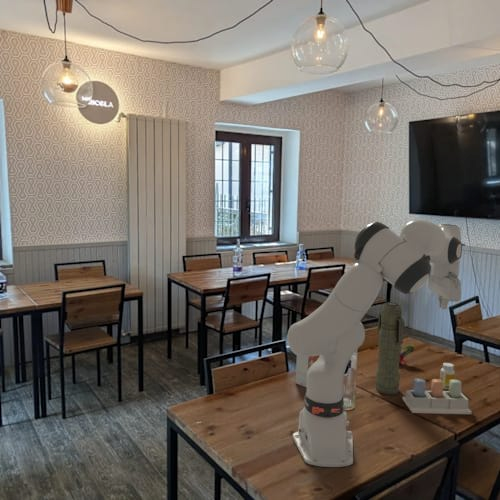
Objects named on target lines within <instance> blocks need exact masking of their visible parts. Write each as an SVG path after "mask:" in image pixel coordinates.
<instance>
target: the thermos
mask: <svg viewBox="0 0 500 500" xmlns="http://www.w3.org/2000/svg"><path fill="white" fill-rule="evenodd" d="M402 313H403V312H402V308H401V304H399V303H397V302H393V301H387V302H385V303H383V306H382V308H381V312H380V313H379V314H378V319H377V320H378V323H377V337H378V338H377V340H378V341H377V347H378V363H377V365H378V366H377V369H376V375H375V384H376V385H375V390H376V391H377V392H379V393H380V394H384V395H388V396H389V395H390V396H392V395H396V394H398V393H399V387H400V380H401V378H400V377H401V376H400V375H401V374H400V371H399V370H400V363H399V357H400V350H401V349H402V345H403V344H404V332H405V321H404V318H402V317H403V316H402V315H403V314H402Z"/></svg>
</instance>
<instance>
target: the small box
mask: <svg viewBox="0 0 500 500" xmlns="http://www.w3.org/2000/svg"><path fill="white" fill-rule="evenodd" d="M319 357H320V355H318V356H299V355H296V361H295V362H296V364H295V368H296V369H295V384H297V385H299V386H301V387H305V388H307V372H308V369H309V368H310V366H311V365H312V364H314V363H315V362H316V361H317V360H318V358H319Z"/></svg>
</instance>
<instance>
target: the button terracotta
mask: <svg viewBox="0 0 500 500" xmlns="http://www.w3.org/2000/svg"><path fill="white" fill-rule="evenodd" d="M443 384H444V382H443V381H442V380H440V378H439V379H437V378H433V379H431V386H430V391H431V397H432V398H443V391H444V389H443Z"/></svg>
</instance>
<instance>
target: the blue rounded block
mask: <svg viewBox="0 0 500 500" xmlns="http://www.w3.org/2000/svg"><path fill="white" fill-rule="evenodd" d="M426 382H427V381H426V380H424V379H422V378H414V379H413V387H412V390H413V396H414V397H425V391H426Z"/></svg>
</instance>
